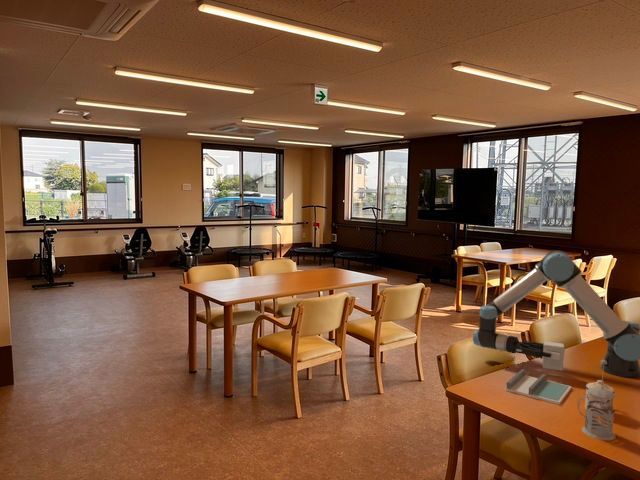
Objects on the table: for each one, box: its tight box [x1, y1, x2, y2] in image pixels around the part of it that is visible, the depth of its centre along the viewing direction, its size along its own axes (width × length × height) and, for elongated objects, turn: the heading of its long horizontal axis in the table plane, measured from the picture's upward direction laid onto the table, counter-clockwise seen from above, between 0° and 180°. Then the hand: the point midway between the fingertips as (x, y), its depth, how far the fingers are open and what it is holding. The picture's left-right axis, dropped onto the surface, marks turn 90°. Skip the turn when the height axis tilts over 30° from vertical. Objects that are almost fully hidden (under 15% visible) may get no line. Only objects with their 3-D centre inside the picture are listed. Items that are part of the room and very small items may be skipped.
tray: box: [506, 368, 572, 405], centre depth 195 cm, size 20×20×4 cm
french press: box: [576, 359, 617, 441], centre depth 160 cm, size 10×12×25 cm
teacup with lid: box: [584, 379, 615, 415], centre depth 177 cm, size 12×9×12 cm
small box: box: [542, 340, 565, 371], centre depth 210 cm, size 8×6×10 cm
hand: (562, 354), depth 208 cm, fingers closed on small box, 7 cm apart
